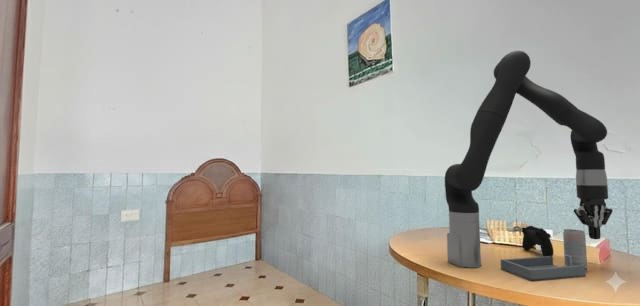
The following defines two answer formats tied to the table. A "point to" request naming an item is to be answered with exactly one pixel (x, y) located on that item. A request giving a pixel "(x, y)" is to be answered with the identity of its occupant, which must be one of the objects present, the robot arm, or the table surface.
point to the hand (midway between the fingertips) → (594, 238)
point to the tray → (540, 268)
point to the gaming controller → (537, 240)
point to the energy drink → (575, 248)
